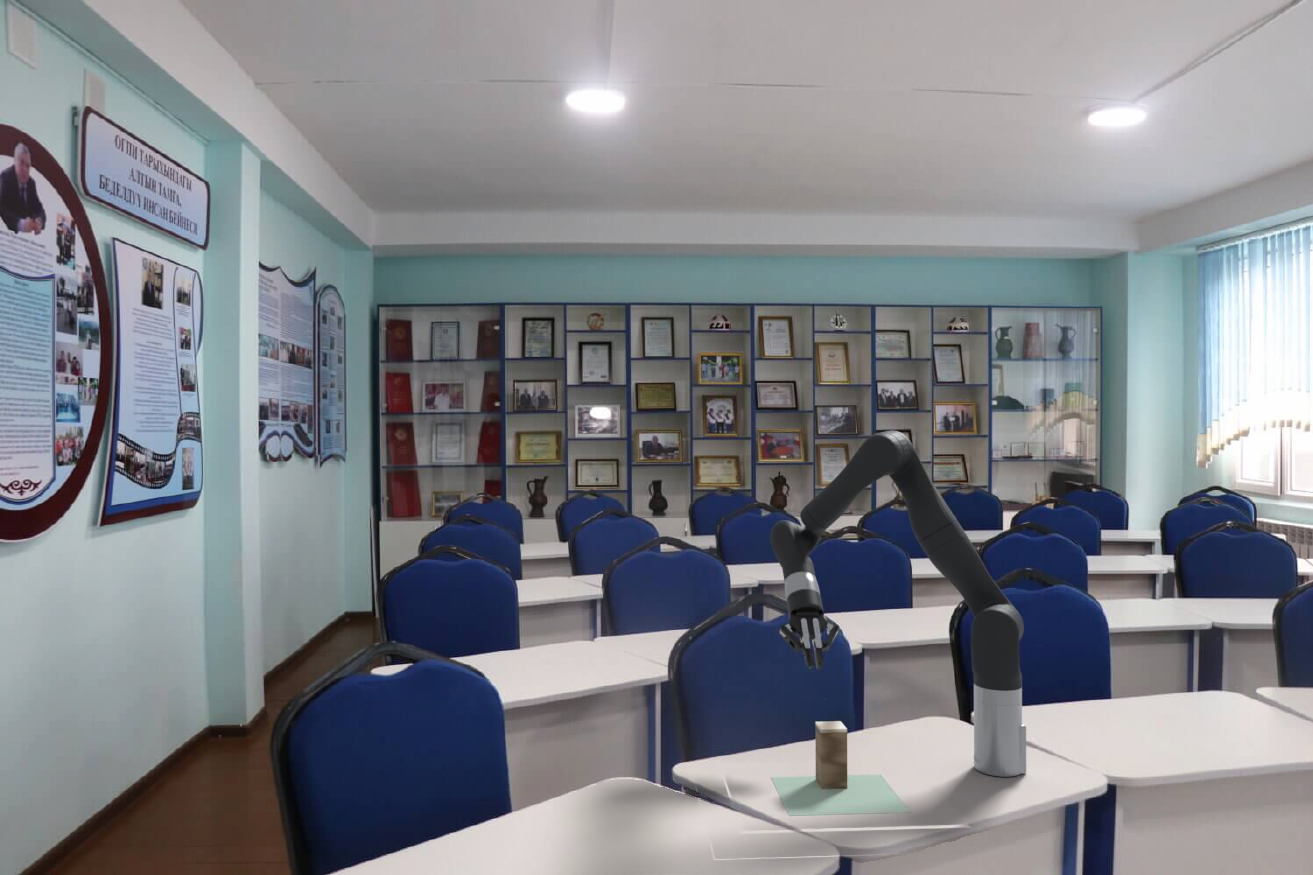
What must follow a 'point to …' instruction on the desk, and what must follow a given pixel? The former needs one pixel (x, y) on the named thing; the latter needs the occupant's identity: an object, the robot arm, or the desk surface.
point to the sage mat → (838, 796)
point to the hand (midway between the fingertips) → (815, 666)
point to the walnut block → (831, 755)
